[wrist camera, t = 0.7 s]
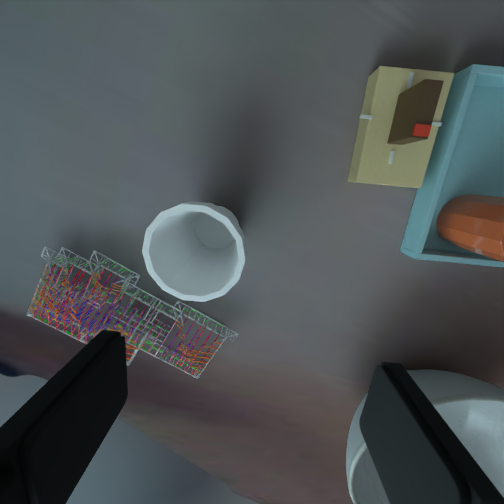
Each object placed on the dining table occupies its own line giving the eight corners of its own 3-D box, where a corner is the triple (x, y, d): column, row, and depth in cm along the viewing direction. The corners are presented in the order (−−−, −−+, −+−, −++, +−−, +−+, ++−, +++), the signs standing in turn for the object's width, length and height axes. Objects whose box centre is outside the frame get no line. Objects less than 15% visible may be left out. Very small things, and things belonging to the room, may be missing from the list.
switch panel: (359, 75, 29) (370, 63, 26) (436, 83, 29) (456, 72, 26) (339, 180, 32) (347, 180, 29) (407, 187, 32) (423, 188, 29)
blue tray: (449, 76, 29) (473, 63, 25) (563, 87, 29) (602, 76, 25) (399, 251, 35) (414, 258, 32) (493, 260, 35) (517, 268, 32)
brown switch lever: (398, 94, 27) (426, 77, 22) (414, 95, 27) (446, 79, 22) (386, 143, 28) (411, 137, 24) (402, 145, 28) (429, 138, 24)
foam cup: (262, 216, 34) (264, 239, 22) (230, 270, 37) (215, 317, 24) (202, 181, 33) (167, 183, 20) (173, 238, 35) (126, 271, 23)
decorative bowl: (509, 409, 43) (602, 494, 31) (375, 472, 48) (412, 565, 37) (437, 301, 37) (518, 357, 26) (294, 386, 43) (308, 464, 31)
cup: (445, 192, 32) (518, 197, 23) (495, 197, 32) (589, 204, 23) (429, 241, 34) (491, 264, 25) (477, 245, 34) (556, 270, 25)
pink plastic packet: (241, 322, 39) (239, 343, 34) (197, 385, 43) (189, 412, 38) (64, 223, 35) (32, 230, 30) (33, 302, 39) (0, 320, 34)
